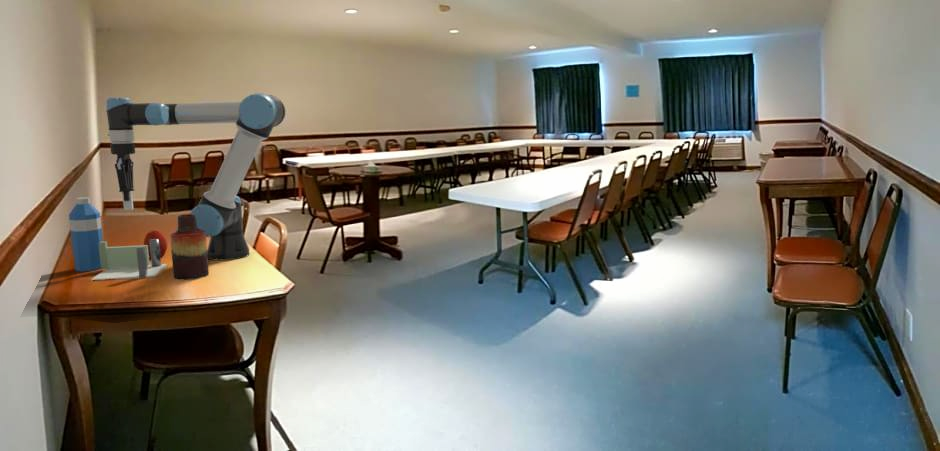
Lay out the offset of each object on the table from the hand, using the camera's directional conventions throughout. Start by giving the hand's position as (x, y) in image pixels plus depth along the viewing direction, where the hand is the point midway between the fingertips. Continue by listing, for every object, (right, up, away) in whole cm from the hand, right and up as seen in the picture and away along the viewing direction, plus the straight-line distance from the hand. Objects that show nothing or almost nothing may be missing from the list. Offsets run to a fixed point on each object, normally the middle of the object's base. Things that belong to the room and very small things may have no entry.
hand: (128, 209), depth 232 cm
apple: (+2, -18, +17) cm, 25 cm away
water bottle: (-13, -21, -1) cm, 25 cm away
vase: (+28, -23, -14) cm, 39 cm away
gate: (+1, -20, -3) cm, 20 cm away
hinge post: (+11, -20, -1) cm, 23 cm away
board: (+5, -22, -9) cm, 24 cm away
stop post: (+13, -23, -15) cm, 30 cm away
